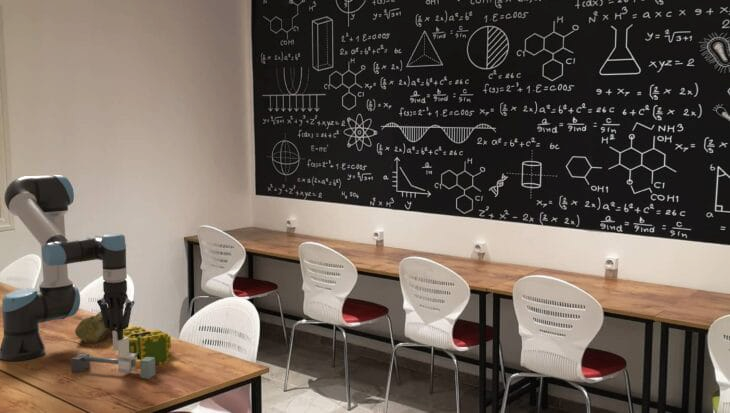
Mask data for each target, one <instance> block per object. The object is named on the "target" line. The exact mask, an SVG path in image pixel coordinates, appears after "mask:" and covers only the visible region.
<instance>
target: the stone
mask: <svg viewBox="0 0 730 413" xmlns="http://www.w3.org/2000/svg"><path fill="white" fill-rule="evenodd" d="M74 332H75V335H76V336H77V338H79V339H82V341H84V342H85V343H86V344H87V343H89V344H97V343H99V342H100V341H103V339H105V338H106V336H107V335H108V334H109V333H111V331H110V329H108V328H105V325H104V321H103V317H102V313H101V311H99V312H98V313H96V315H93V316H90V317H87V318H84V319H82V321H80V322H79V324H78V325H77V326H76V328H75V331H74Z"/></svg>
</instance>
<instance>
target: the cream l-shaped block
mask: <svg viewBox="0 0 730 413" xmlns="http://www.w3.org/2000/svg"><path fill="white" fill-rule="evenodd" d="M117 343H118V350H117V359H118V364H117V369H118V373H120V374H121V373H123V374H131V373H132V372H134V371H136V370H137V369H138V368H136V367H135V366H131V361H136V360H138V357H137V353H129V337H125V338H123V339H121V340H119V341H117Z"/></svg>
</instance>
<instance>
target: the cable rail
mask: <svg viewBox="0 0 730 413" xmlns="http://www.w3.org/2000/svg"><path fill="white" fill-rule="evenodd" d="M91 362H94V363H101V364H103V363H104V364H113V365H118V358H106V357H100V356H90V353H83V352H82V353H80V354H77V355H75V356H73V357H72V358H70V368H71V369H70V371H71V373H81V372H83V371H85V370H86V369H87V370H88V369H89V368H91V366H90V365H91V364H90V363H91ZM131 366H135V367H136V368H137V369H140V378H141V379H148V380H149V379H151V378H152V377H154V376H156V364H155V357H146V358H144V359H142V360H139V359H137V360H136V361H131Z"/></svg>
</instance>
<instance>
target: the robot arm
mask: <svg viewBox="0 0 730 413" xmlns="http://www.w3.org/2000/svg"><path fill="white" fill-rule="evenodd" d="M74 197H75V195H74V189H73V186H72V184H71V182H70V181H69V178H67V177H66V176H64V175H61V174H48V175H45V174H44V175H33V176H29V175H28V176H20V177H18V178H16V179H14V180H12V182H10V183H9V185H8V186H7V187H6V189H5V192H4V203H5V206H6V208H7V210H8V212H10V214H12V215H13V216H15V217H18V219H19V220H20V221H21V222H22V223H23V225H24V226H25V227H26V228H27V229H28V231H29V232H30V233H31V235H32V236H33V237H34V239H36V241H37V243H39V244H40V248H41V249H40V251H41V264H42V266H41V267H42V278H43V279H42V281H41V282H40V283H39V286H38V287H39V291H38V290H37V289H36V288H33V287H32V288H31V287H29V288H24V289H23V288H21V289H16V290H14V291H13V290H12V291H10V292H8V293H7V294H5V295H4V296H3V298H2V302H1V311H2V312H1V314H2V328H3V329H2V330H3V337H2V340H1V344H0V360H3V361H9V362H19V361H27V360H33V359H36V358H38V357H41V356H43V355H45V353H46V348H45V347H46V345H45V344H44V342H43V339H42V336H41V334H40V328H39V324H42V323H43V324H44V323H47V322H51V321H57V320H64V319H66V318H67V319H68V318H71V317H73V316H75V315H76V314H77V312H78V311H79V309H80V304H81V294H80V292H79V289H78V287H77V286H76V285H74V282H73V281H72V280H71V279H70V278H69V272H68V265H69V264H74V263H82V262H89V261H99V260H100V261H101V262H102V280H103V283H102V286H103V287H102V288H103V289H102V292H103V296H102V298H100V299H98V300H97V304H98V306H99V308H100V312H101V313H102V317H103V321H104V325H105V328H108V329H110V331H111V332H110V339H111V340H112V350H113V351H118V343H117V341H119V340H121V339H123V329H126V328H127V329H129V325H130V320H131V315H132V309H133V306H134V305H135V301H134V300H130V299H129V296H128V294H127V291H128V282H127V278H128V276H127V244H126V237H125V235H124V234H123V233H116V232H115V233H107V234H103V235H102V236H98V235H95V236H94V235H90V236H89V235H88V236H87V237H85V238H82V239H80V238H79V239H73V240H71V239H70V240H68V238H66V227H65V226H66V225H65V214H67V212H69V206H70V205H72V204H73V202H74V199H75V198H74Z"/></svg>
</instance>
